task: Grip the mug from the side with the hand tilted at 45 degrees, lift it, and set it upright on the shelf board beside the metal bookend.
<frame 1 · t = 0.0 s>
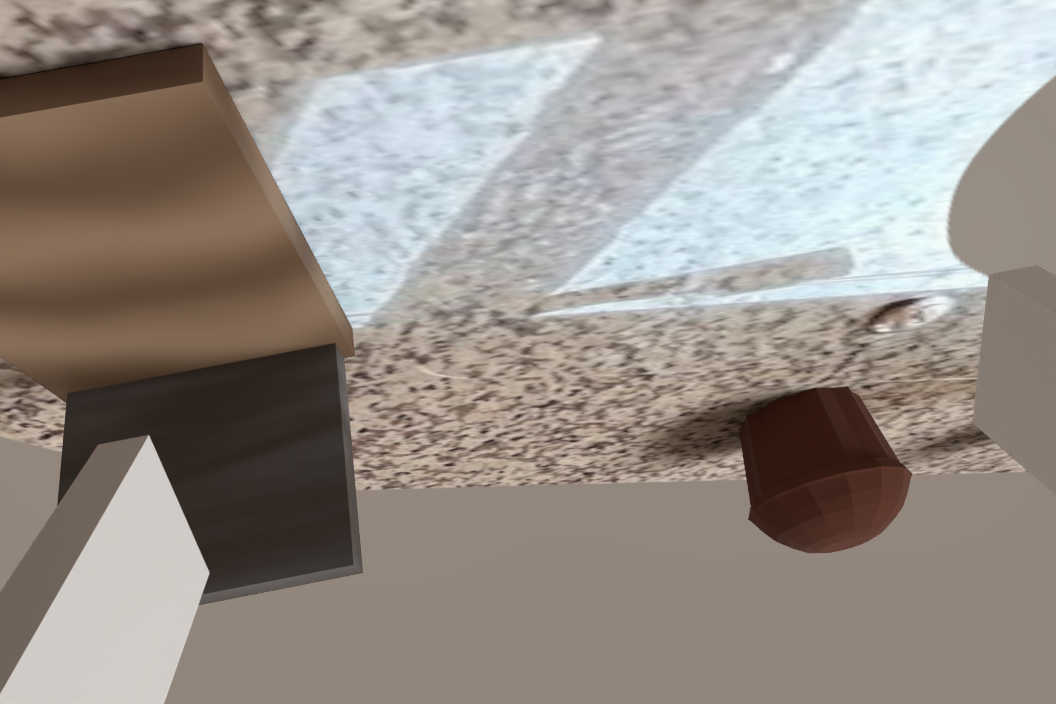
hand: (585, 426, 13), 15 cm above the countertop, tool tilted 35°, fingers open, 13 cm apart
shelf: (125, 252, 31), on the countertop
muffin: (796, 410, 61), on the countertop
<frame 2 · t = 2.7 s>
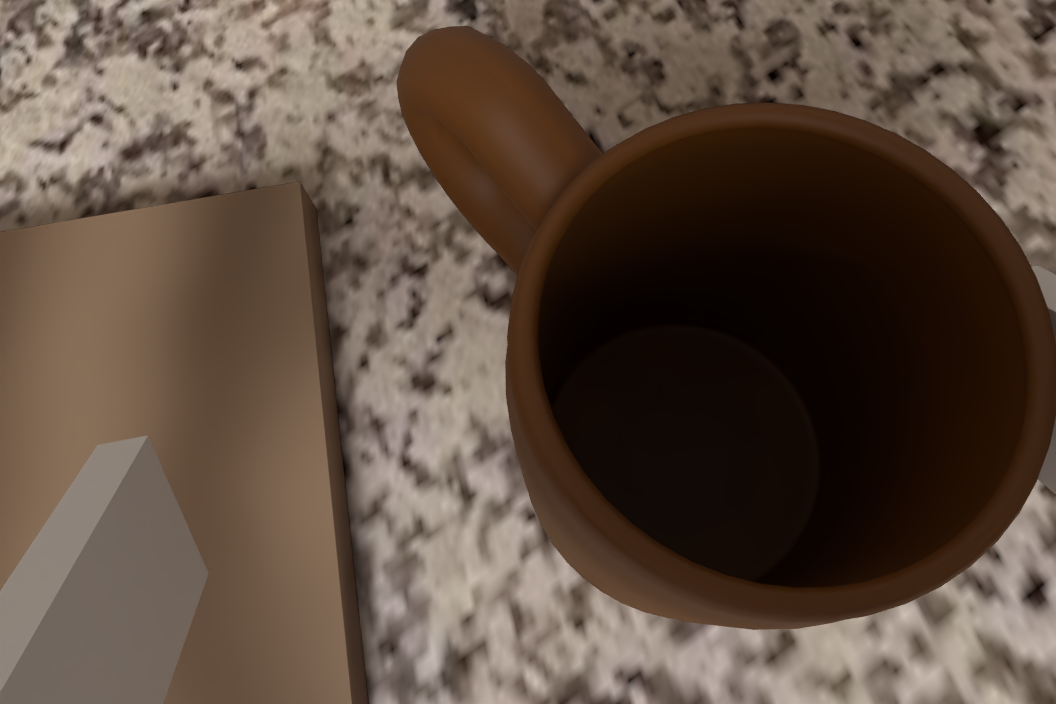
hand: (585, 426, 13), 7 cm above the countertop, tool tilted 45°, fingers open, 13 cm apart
mug: (614, 394, 21), on the countertop
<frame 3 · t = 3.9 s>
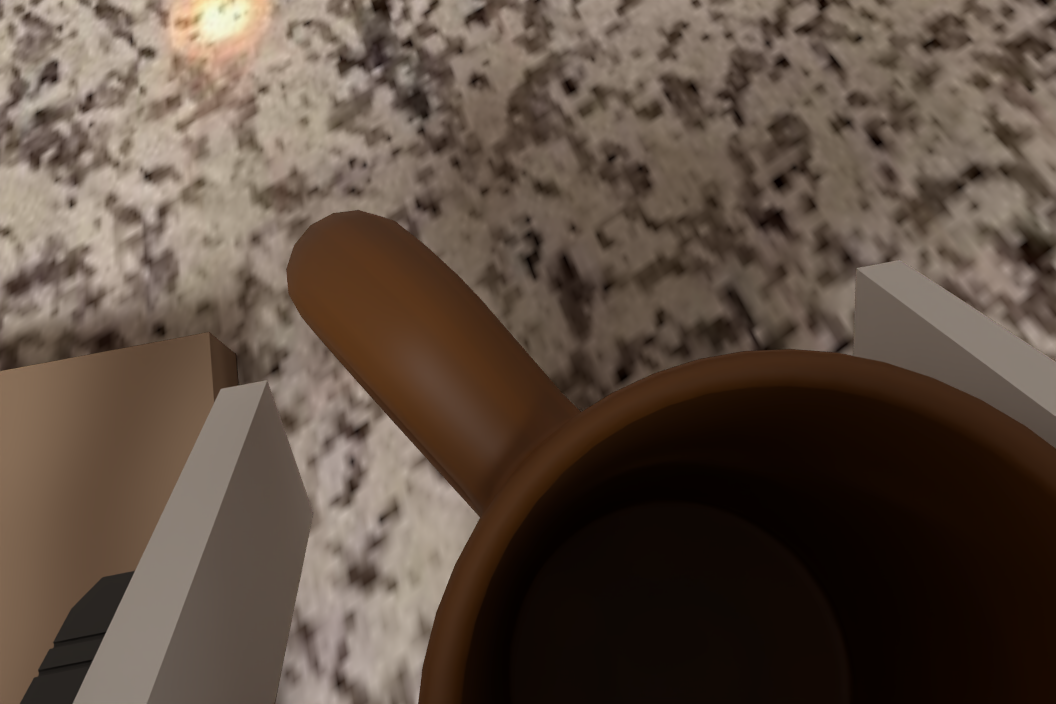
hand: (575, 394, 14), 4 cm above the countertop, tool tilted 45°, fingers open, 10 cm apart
mug: (596, 587, 17), on the countertop, touching gripper
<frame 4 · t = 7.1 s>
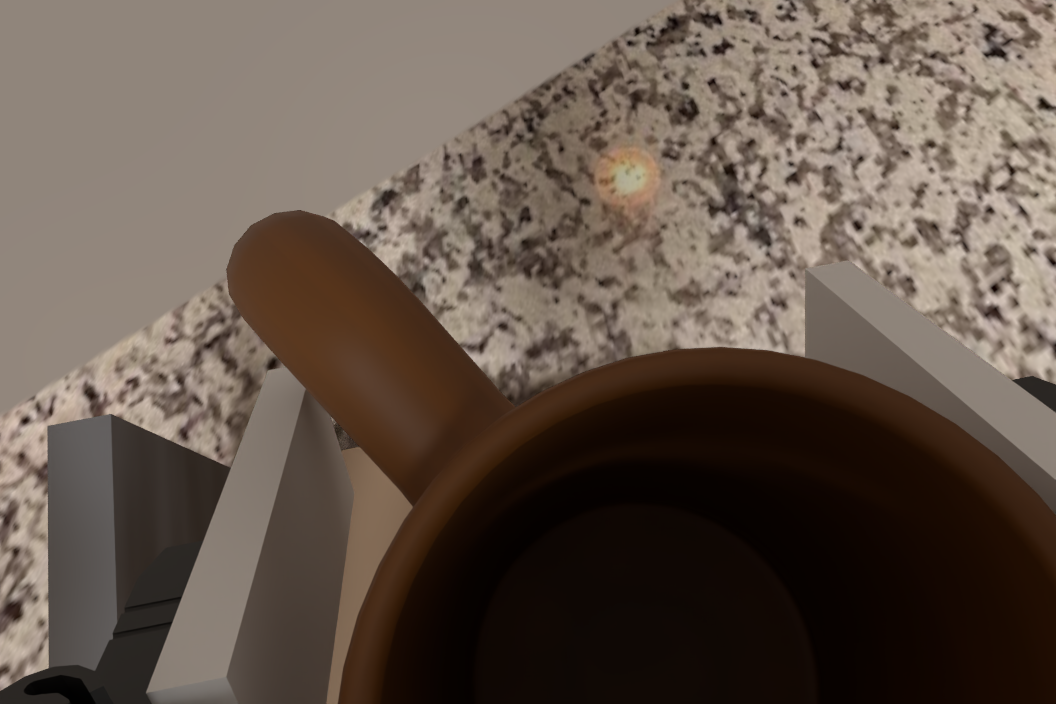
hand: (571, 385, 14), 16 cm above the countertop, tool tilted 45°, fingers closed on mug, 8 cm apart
shelf: (485, 616, 28), on the countertop
mug: (563, 590, 17), point 13 cm above the countertop, touching gripper
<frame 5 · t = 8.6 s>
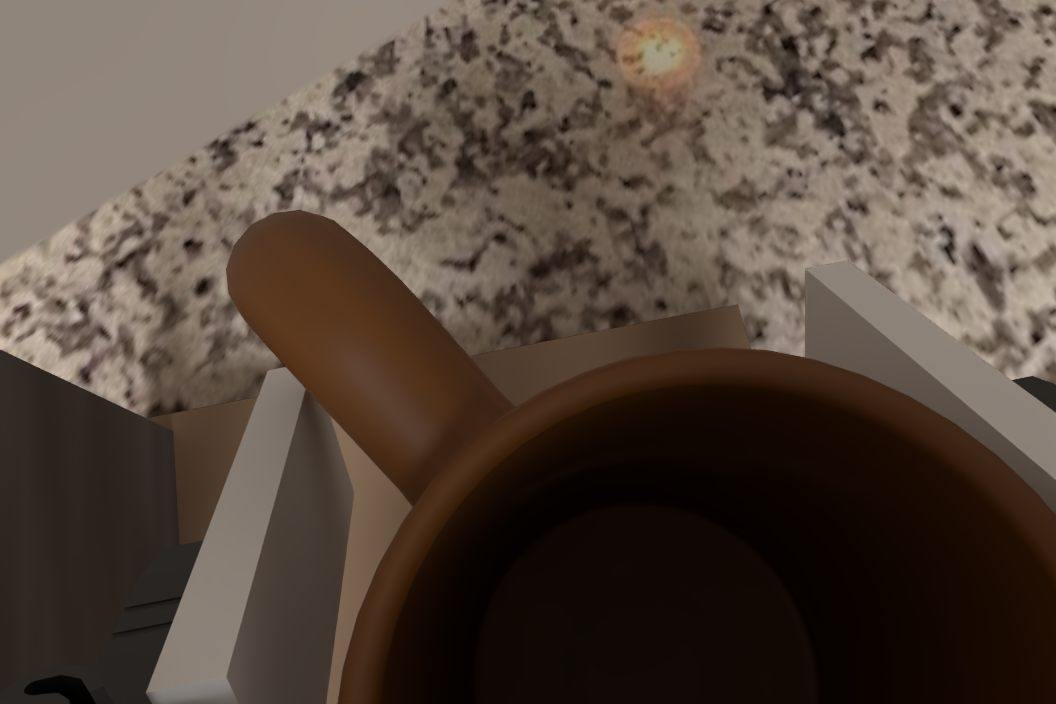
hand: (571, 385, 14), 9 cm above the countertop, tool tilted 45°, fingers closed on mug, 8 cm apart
shelf: (475, 612, 21), on the countertop
mug: (563, 590, 17), point 5 cm above the countertop, touching gripper
when the fingers open (6 cm above the countertop, at t = 9.8 s): mug moves 1 cm, resting on shelf.
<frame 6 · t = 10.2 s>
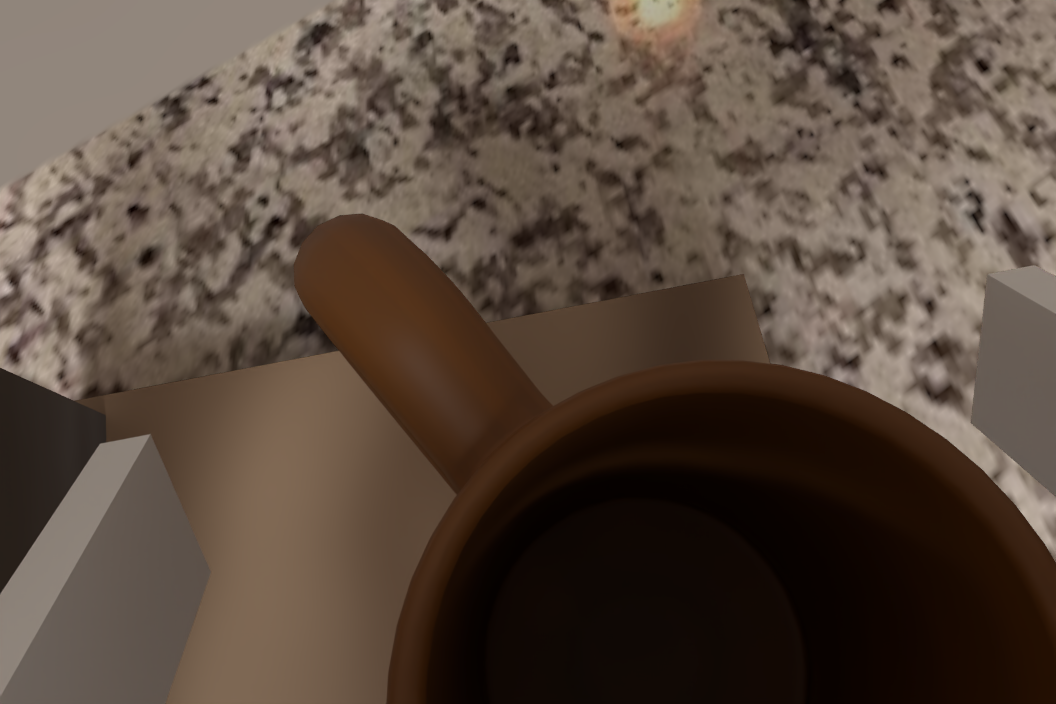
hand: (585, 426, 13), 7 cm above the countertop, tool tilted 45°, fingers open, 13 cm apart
shelf: (447, 620, 19), on the countertop
mug: (572, 576, 18), point 1 cm above the countertop, touching shelf
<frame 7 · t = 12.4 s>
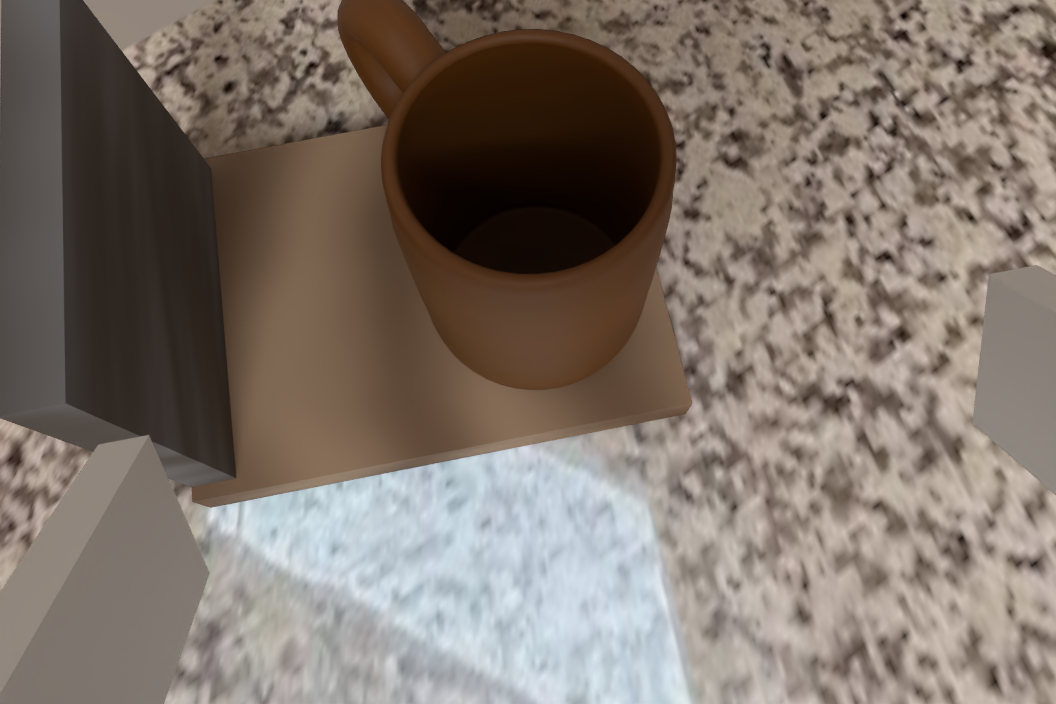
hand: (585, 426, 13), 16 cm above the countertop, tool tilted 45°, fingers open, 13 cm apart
shelf: (422, 292, 31), on the countertop
mug: (496, 254, 30), point 1 cm above the countertop, touching shelf
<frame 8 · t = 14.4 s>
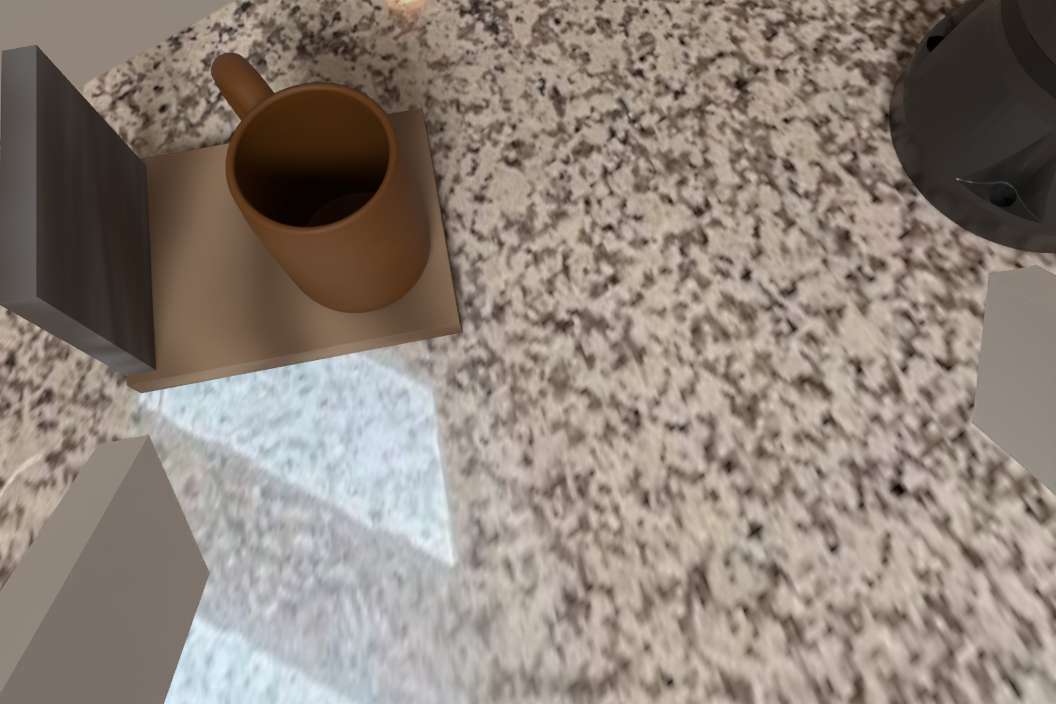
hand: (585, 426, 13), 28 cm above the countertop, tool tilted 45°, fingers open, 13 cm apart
shelf: (290, 251, 45), on the countertop
mug: (338, 224, 44), point 1 cm above the countertop, touching shelf
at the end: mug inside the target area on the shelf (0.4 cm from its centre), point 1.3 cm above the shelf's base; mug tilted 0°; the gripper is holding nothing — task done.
